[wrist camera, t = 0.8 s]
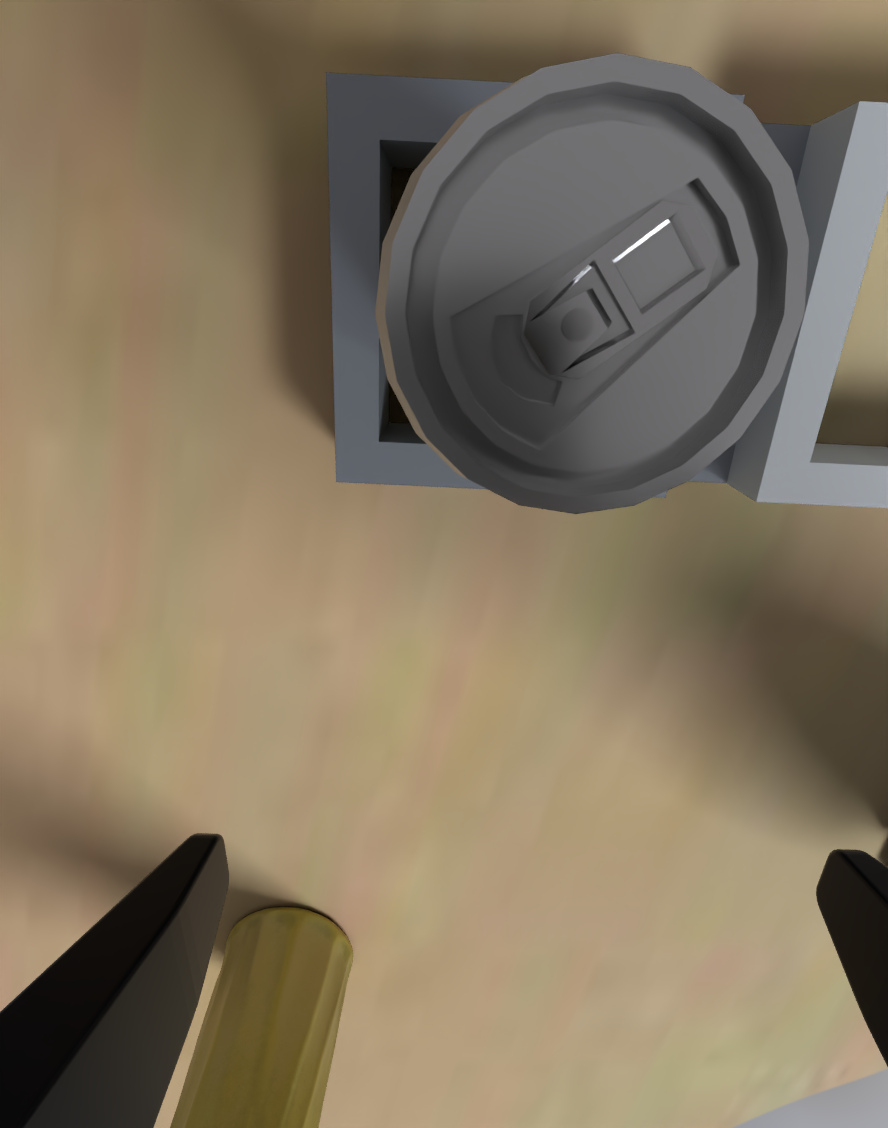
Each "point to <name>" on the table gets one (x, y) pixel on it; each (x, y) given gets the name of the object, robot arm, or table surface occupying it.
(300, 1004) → the vase
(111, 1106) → the robot arm
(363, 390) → the grey double square frame
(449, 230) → the beer can
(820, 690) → the table surface
